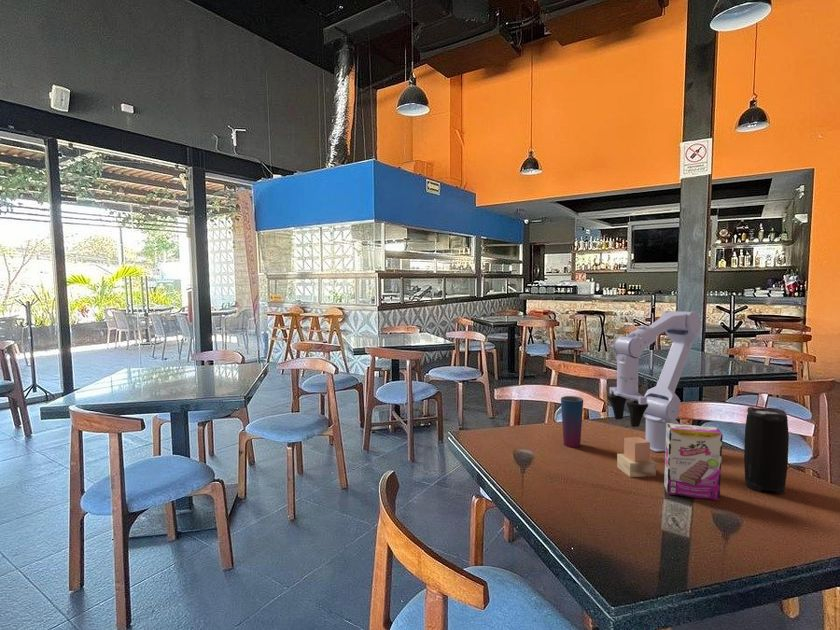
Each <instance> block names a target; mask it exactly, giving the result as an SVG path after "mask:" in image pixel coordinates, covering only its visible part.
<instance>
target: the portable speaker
mask: <svg viewBox="0 0 840 630" xmlns="http://www.w3.org/2000/svg"><path fill="white" fill-rule="evenodd" d="M746 412H747V414H746V420H745V427H744V446H743V447H744V451H743V453H744V454H743V461H744V463H743V466H744V468H743V469H744V480H745V484H746V487H747V488H749V489H750V490H752V491H756V492H761V491H771V492H774V493H775V494H776V495H782V494H783V495H784V494H785V492H786V491H785V490H786V482H787V476H788V475H787V474H788V466H789V442H790V441H789V440H790V439H789V438H790V437H789V421H788V414H787V413H786V412H785V410H783V409H780V408H774V407H766V408H765V407H761V408H760V407H754V406H749V407H747V409H746Z"/></svg>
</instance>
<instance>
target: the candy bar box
mask: <svg viewBox="0 0 840 630" xmlns="http://www.w3.org/2000/svg"><path fill="white" fill-rule="evenodd" d="M723 435H724V434H723V432H722V431H721V430H719V428H718V427H715V426H704V425H703V426H702V425H694V424H693V425H692V424H682V423H679V424H671V423H666V447H665V451H664V453H665V454H664V455H665V456H664V478H663V479H664V480H663V481H664V483H663V486H664V489H665V491H666V493H667V495H673V496H679V497H681V496H682V497H687V498H696V499H704V500H710V501H711V500H712V501H720V500H721V484H722V483H721V481H722V480H721V479H722V476H721V475H722V459H723V458H722V455H723V453H722V452H723V439H724V438H723Z"/></svg>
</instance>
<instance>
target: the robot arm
mask: <svg viewBox="0 0 840 630" xmlns="http://www.w3.org/2000/svg"><path fill="white" fill-rule="evenodd" d="M701 327H702V321H701V317H700V315H699V313H698V312H697V311H693V310H692V311H680V310H679V311H677V310H673V311H671V310H665V311H664V312H661V314H660V315H659V318H657V320H655V321H654V322H653V323H651V324H650V325H649V326H648V325H642V324H641V325H639V326H638V328H637V329H636V330H634V331H632V332H629V333H628V334H627V335H626V336H619V337H618V338H616V339H615V340H614V341H613V345H612V351H613V353H614V356H615V361H616V386H610V387H609V394H610V395H607V399H608V401H609V403H610V405H611V407H612V412H613V415H614V419H615V420H616V421H617V420H623V418H624V415H625V414H624V412H625V406H627V407H628V411H629V415H630V416H629V418H630V425H631V427H632V428H637V427H640V424H641V421H642V419H643V418H645V439H644V440H646V441H648V442H650V451H653V452H655V453H659V452H665V447H666V423H671V424H680V423H679V421H678V420H677V417H679V415H680V414H679V413H680V404H681V400H680V399H681V398H679V396H678V395H677V394H676V389H677V386H678V384H679V381H680V380H681V379H680V378H681V376H682V373H683V370H684V367H685V366H686V362H687V360H688V357H689V356H690V355H689V354H690V352H691V349H692V346H693V344H694V342H695V341H696V340H697V337H698V334H699V332H700V329H701ZM664 332H665V335H666V337H667V338H668V339H670V340H671V341H672V343H671V347H670V349H669V351H668V354H667V357H666V360H665V362H664V365H663V367H662V370H661V372H660V376H659V377H658V380H657V382H656V385H655V386H654V387H651V388H649V389H647V390H646V392H645V394H644V395H642V393H640V392H639V360H640V359H639V357H642V354H644V350H645V349H646V348H647V347H649V346H650V345H652V344H653V343H655V342H656V340H657V336H659V335H661V334H663V333H664ZM627 400H630V401H631V402H627Z"/></svg>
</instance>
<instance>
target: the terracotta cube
mask: <svg viewBox="0 0 840 630" xmlns="http://www.w3.org/2000/svg"><path fill="white" fill-rule="evenodd" d="M650 452H651V449H650V442H648V441H646V440H645V439H644V438H642V437H639V436H633V437H631V436H630V437H624V439H623V454H624V456H625V457H627V458H629V459H630V460H632V461H634V462H639V461H650V459H651V457H650V455H651V454H650Z"/></svg>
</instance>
